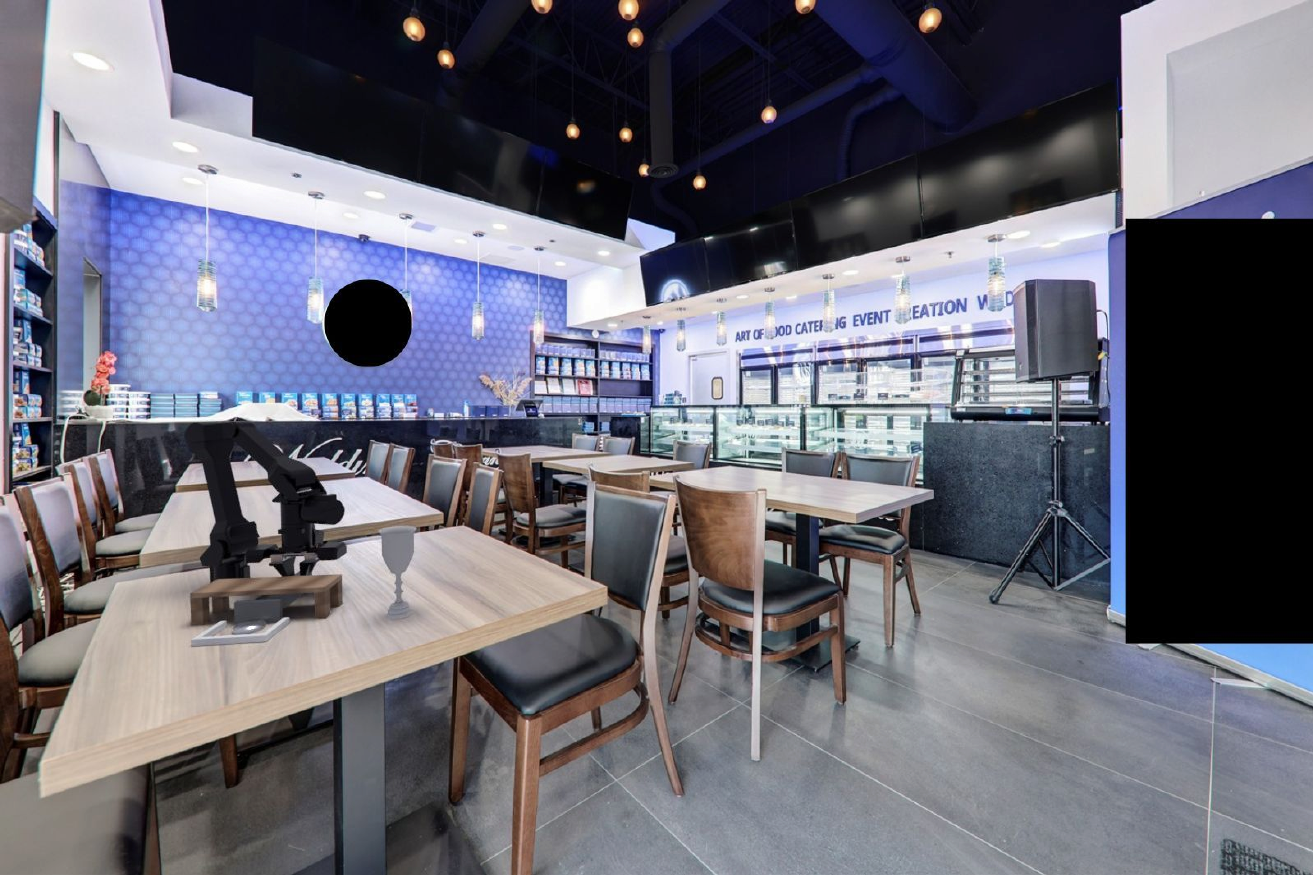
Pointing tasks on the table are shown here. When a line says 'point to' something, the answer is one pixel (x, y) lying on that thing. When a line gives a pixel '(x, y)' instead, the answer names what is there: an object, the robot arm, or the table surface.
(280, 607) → the grey wedge block
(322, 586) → the walnut bench
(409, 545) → the chalice
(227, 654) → the table surface
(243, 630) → the disc
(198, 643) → the frame
